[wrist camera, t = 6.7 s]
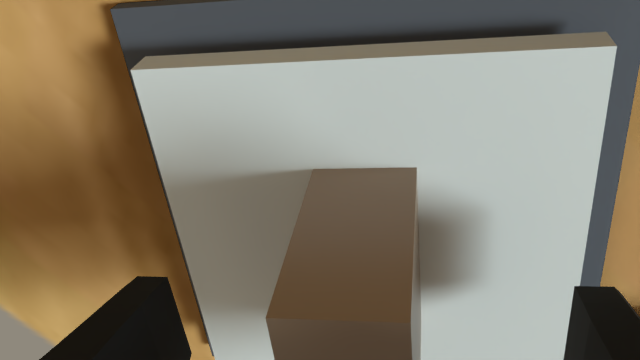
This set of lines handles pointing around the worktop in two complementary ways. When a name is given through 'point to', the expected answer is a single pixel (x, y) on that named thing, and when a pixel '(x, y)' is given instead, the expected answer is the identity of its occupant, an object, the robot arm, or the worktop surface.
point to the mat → (398, 27)
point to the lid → (383, 193)
